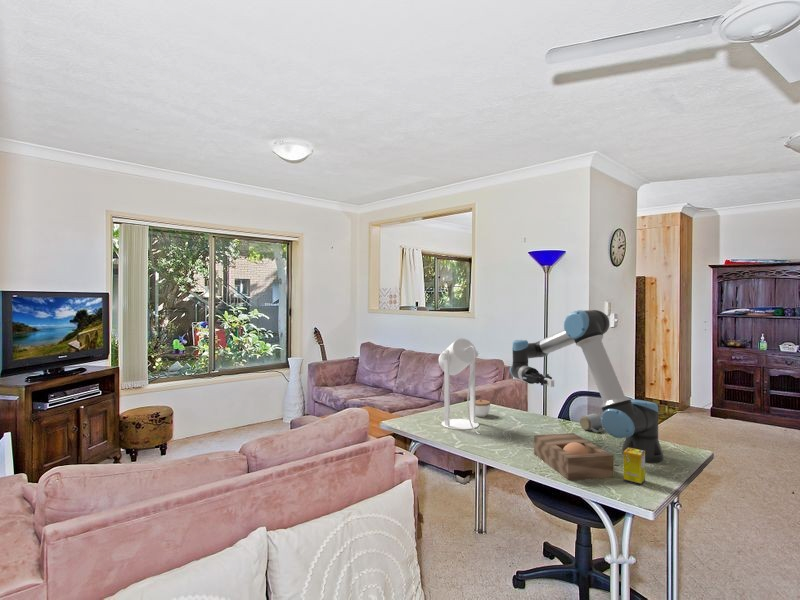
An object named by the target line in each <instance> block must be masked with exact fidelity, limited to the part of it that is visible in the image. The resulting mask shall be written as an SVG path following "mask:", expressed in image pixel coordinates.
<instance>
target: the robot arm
mask: <svg viewBox="0 0 800 600" xmlns="http://www.w3.org/2000/svg"><path fill="white" fill-rule="evenodd" d="M610 325H611V323H610V319H609V317H608V316H607V314H606V313H605V312H603V311H601V310H597V309H592V310H591V309H590V310H589V309H587V310H583V309H580V310H574V311H571V312H569V313H568V315H566V317H565V320H564V322H563V330H561V331H558V332H556V333H554V334H552V335H549V336H547V337H545V338H542V339H541V340H539V341H536V342H529V341H528V340H527V339H515V340H513V342H512V349H511V350H512V364H511V366H510V368H509V372H510V375H511V376H512V377H513V378H515V379H517V380H521V382H525V383H526V384H529V385H530V384H531V385H534V384H536V385H537V384H539V385H540V386H545V385H546V386H547V387H551V388H553V387H555V380H554V379H553V377H552V376H550V374H549V373H546V374H544V375H543V374H542V373H540V372H539V371H538V370H537V368H534V367H532V366H529V359H533V358H544V357H547V356H549V354H550V353H553V352H555V351H558V350H561V349H562V348H566V347H567V346H570V345H573V344H575V345H576V346H577V347H579V348H581V351H582V353H583V355H584V358H585V361H586V363H587V365H588V368H589V370H590V373H591V375H592V377H593V380H594V383H595V385H596V388H597V390H598V393H599V395H600V397H601V400H602V404H601V406H600V408H601V410H602V414H601V417H600V418H601V423H602V427H603V430H604V431H605V432H606V433H607V434H608V435H609V436H612V437H613V438H616V439H625V440H624V442H623V445H622V447H621V453H622V455H623V452H624V451H625V450H626V449H627V448H633V449H638V450H643V451H645V463H659V462H662V461H663V460H664V452H663V450H662V447H661V444H660V440H659V414H660V412H659V405H658V404H657V403H655V402H652V401H647V400H642V399H633V398H629V397H628V396H625V393H624V391H623V387H622V386H621V384H620V381H619V379H618V376H617V375H616V372H615V370H614V368H613V364H612V363H611V360H610V358H609V355H608V353H607V351H606V348H605V345H604V343H603V342H602V341H603V339H604V335H605V334H606V333H607V332H608V330H609V329H610V328H609V327H610Z"/></svg>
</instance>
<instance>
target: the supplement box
mask: <svg viewBox="0 0 800 600" xmlns="http://www.w3.org/2000/svg"><path fill="white" fill-rule="evenodd" d="M622 456H623V483H624V482H625V483H628V484H632V485H637V486H642V485H643V484H644V482H646V462H645V451H643V450H638V449H633V448H627V449H626V450H625V451H624V452H623V454H622Z"/></svg>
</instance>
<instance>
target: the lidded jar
mask: <svg viewBox="0 0 800 600" xmlns="http://www.w3.org/2000/svg"><path fill="white" fill-rule="evenodd" d="M490 409H491V401H490V400H486V399H482V398H479V399H475V417H479V418H483V417H487V415H488V414H489V413H490Z"/></svg>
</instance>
